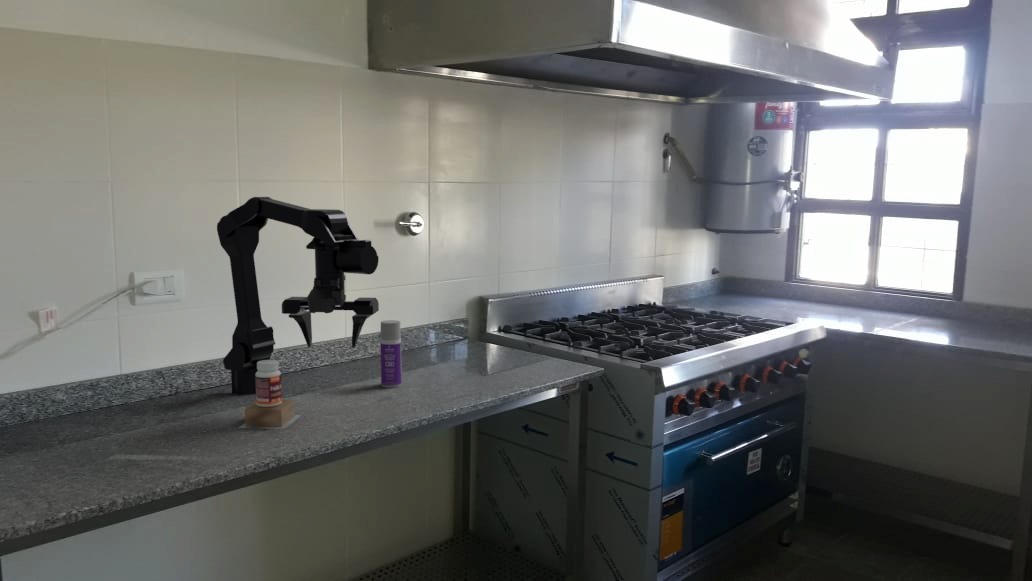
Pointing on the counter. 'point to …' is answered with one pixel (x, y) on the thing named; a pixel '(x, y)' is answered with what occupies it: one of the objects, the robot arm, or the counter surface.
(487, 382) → the counter surface
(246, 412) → the walnut block
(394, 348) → the container
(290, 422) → the plate
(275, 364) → the pill bottle
